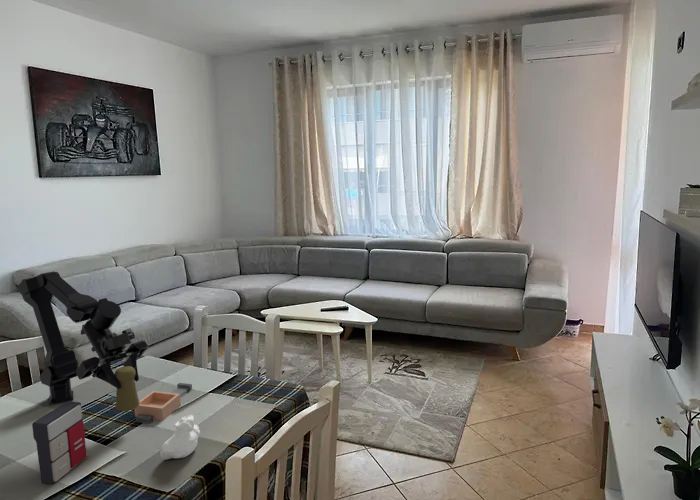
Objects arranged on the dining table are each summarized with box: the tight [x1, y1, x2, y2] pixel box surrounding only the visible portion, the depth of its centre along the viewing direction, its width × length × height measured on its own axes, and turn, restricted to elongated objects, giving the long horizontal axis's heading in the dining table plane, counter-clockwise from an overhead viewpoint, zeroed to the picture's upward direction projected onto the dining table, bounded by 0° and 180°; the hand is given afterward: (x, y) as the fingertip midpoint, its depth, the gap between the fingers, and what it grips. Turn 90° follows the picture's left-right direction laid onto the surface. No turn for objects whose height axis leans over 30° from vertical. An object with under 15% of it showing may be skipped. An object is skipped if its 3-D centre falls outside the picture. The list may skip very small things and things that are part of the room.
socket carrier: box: [133, 390, 181, 421], centre depth 144 cm, size 9×9×4 cm
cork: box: [114, 366, 140, 412], centre depth 133 cm, size 6×6×11 cm
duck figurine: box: [159, 414, 201, 461], centre depth 122 cm, size 12×8×11 cm
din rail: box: [135, 382, 193, 425], centre depth 148 cm, size 4×22×2 cm, turn 167°
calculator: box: [31, 400, 88, 485], centre depth 115 cm, size 11×4×15 cm, turn 168°
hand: (129, 384), depth 132 cm, fingers closed on cork, 5 cm apart
